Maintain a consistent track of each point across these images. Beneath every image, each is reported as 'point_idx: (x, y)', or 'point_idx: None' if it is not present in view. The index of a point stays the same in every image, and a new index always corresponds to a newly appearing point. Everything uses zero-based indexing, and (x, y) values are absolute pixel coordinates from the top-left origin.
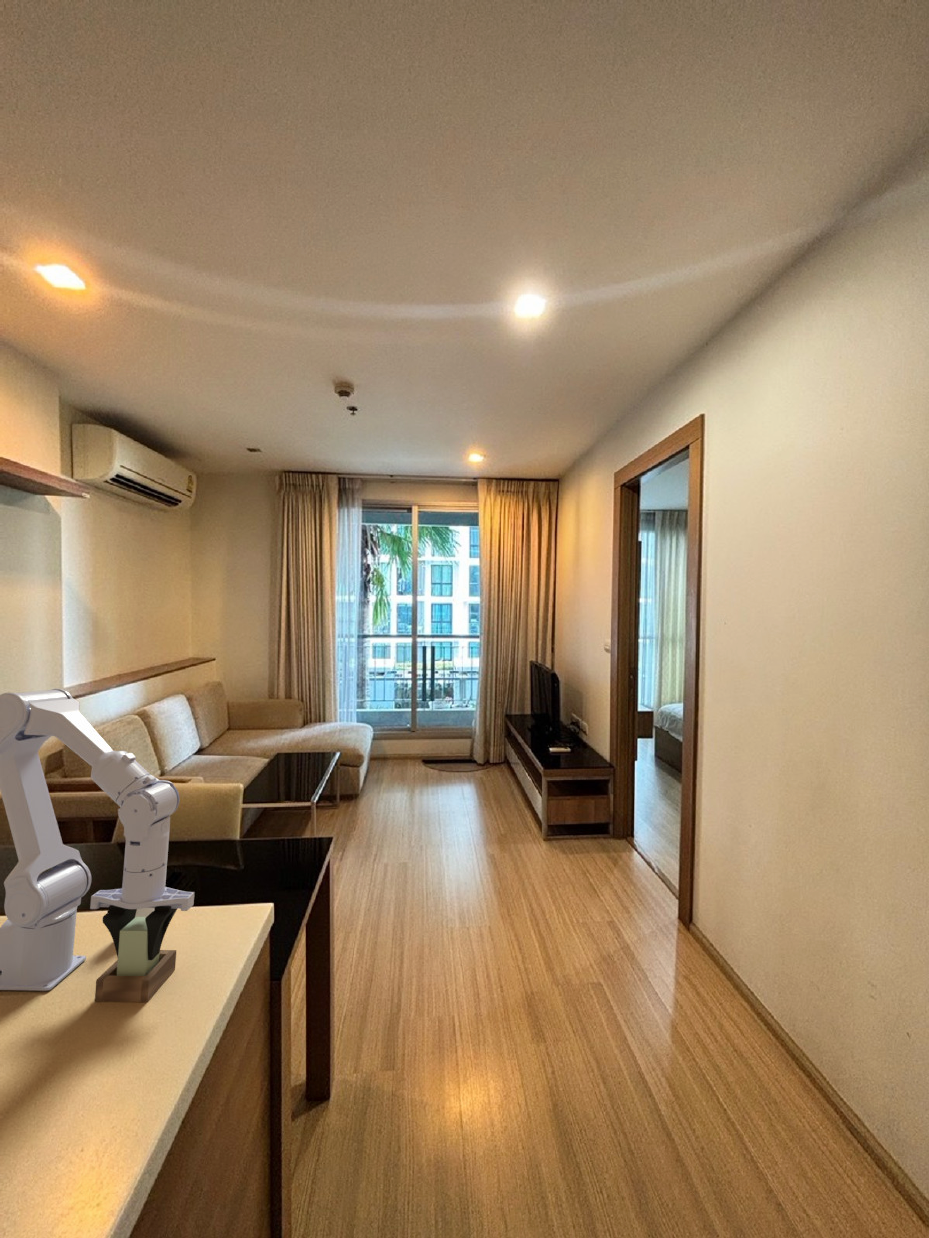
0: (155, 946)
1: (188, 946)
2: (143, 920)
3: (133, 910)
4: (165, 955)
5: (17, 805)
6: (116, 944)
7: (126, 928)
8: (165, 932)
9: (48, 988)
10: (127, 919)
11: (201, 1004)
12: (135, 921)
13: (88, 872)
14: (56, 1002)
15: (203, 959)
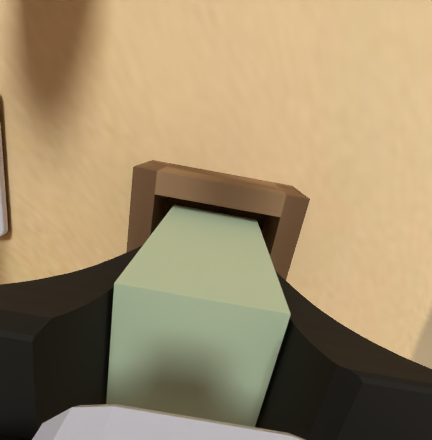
0: None
1: (306, 46)
2: (184, 335)
3: (77, 351)
4: (279, 226)
5: None
6: None
7: (128, 395)
8: (302, 296)
9: (1, 234)
10: (92, 381)
11: (382, 329)
12: (139, 335)
13: None
14: (57, 272)
15: (369, 143)
